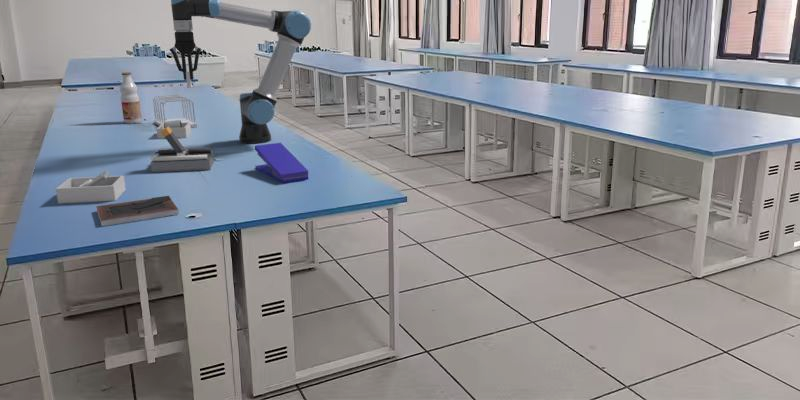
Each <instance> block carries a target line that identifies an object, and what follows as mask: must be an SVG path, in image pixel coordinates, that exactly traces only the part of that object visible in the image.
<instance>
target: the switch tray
mask: <svg viewBox="0 0 800 400" xmlns="http://www.w3.org/2000/svg"><path fill="white" fill-rule="evenodd" d="M95 177H96V176H88V177H87V176H85V177H84V176H83V177H69V178H68V179H67V180H65V181H64V182H63V183H61V184H60V185H58V186H57V187H56V188H55V192H56V193H55V194H56V198H57V204H75V203H93V202H96V203H97V202H114V201H117V200H118V199H119V198H120V196H121V195H122V194H123V193H124V192H125V191H126V183H125V176H124V175H108V176H107V178H106V179H105V180H103V181H102V182H100V183H98V184H97V185H95V186H90V187H79V186H80V185H82V184H83V183H85V182H86V181H88V180H89V179H91V180H92V179H94V178H95Z"/></svg>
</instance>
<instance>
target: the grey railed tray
mask: <svg viewBox="0 0 800 400" xmlns="http://www.w3.org/2000/svg"><path fill="white" fill-rule="evenodd" d="M188 150H189V153H204V152H211V151H212V149H211V147H200V148H199V147H198V148H196V147H195V148H188ZM180 153H181V152H180ZM158 154H177V153H176V152H175V150H174V149H173V148H172V149H159V150H157V155H158ZM202 159H207V155H188V156H165V157H156V156H152V157H151V158H150V160H151V161H153V162H156V161H179V160H202Z"/></svg>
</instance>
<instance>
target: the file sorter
mask: <svg viewBox="0 0 800 400" xmlns="http://www.w3.org/2000/svg"><path fill="white" fill-rule="evenodd" d="M162 102H163V103H162ZM170 102H181V104H182V113H183V117H182V118H170V119H169V118H168V119H166V115H165V109H164V108H165V107H164V106H165V104H166V103H170ZM152 104H153V109H154V118H155V120H154V125H156V126H158V127H159V126H160V125H161V124H163V123H165V122H168V121H176V120H180V121H181V123H189V122H190V127H191V128H196V127H198V123H197V122H196V116H195V106H194V101H193V100H191V99H190V98H187V97H186V96H183V95H180V94H165V95H164V94H163V95H156V96H154V97H153V99H152ZM191 105H192V107H191ZM192 114H193V115H192Z"/></svg>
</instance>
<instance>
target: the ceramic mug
mask: <svg viewBox="0 0 800 400" xmlns="http://www.w3.org/2000/svg"><path fill="white" fill-rule="evenodd" d="M168 126H169V127H170V128H182V124H181V121H180V120H176V121H168V122H165V123H164V128H167V127H168Z"/></svg>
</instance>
